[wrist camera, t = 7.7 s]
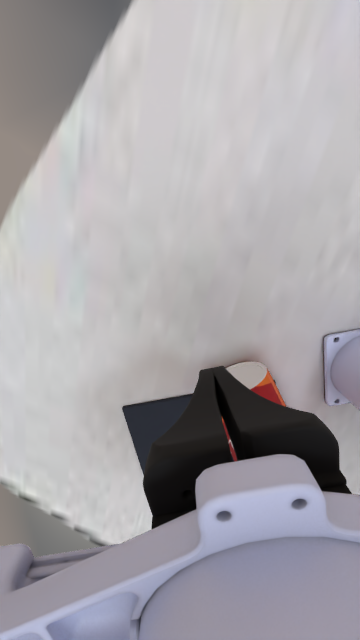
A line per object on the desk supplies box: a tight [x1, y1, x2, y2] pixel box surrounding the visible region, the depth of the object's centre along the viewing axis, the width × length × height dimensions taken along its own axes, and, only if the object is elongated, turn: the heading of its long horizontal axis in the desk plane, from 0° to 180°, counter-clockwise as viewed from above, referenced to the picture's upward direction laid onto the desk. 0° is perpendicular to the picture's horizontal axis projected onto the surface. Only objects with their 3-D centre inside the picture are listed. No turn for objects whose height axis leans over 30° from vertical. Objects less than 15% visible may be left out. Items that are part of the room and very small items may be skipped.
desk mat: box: [122, 381, 275, 474], centre depth 29 cm, size 16×20×1 cm
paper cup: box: [222, 362, 286, 462], centre depth 23 cm, size 8×8×14 cm
